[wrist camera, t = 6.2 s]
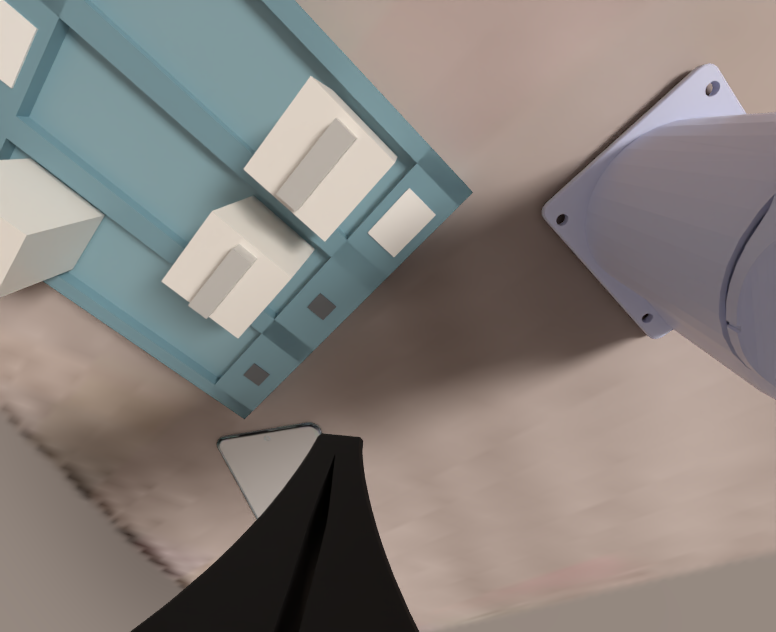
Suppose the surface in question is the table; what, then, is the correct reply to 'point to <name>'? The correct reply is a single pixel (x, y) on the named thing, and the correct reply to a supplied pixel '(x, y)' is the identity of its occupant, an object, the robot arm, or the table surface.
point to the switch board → (202, 167)
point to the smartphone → (266, 460)
